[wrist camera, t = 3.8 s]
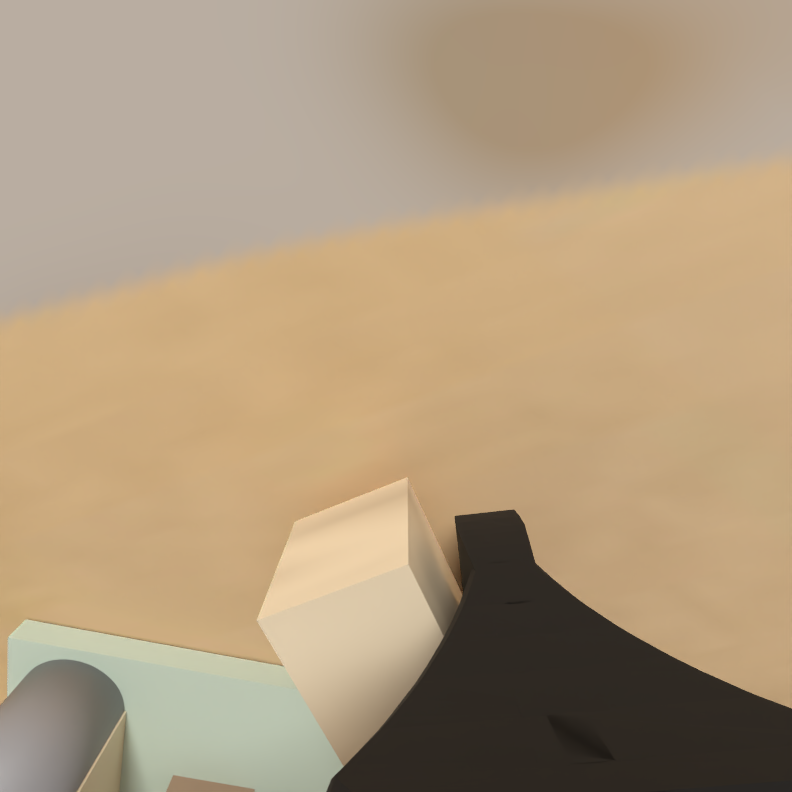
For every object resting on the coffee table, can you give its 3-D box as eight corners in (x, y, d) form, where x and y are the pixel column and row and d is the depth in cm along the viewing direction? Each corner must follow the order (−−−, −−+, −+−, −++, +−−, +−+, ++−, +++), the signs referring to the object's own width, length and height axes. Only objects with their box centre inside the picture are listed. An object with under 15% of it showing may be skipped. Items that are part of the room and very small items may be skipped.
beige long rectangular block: (561, 802, 13) (612, 988, 10) (461, 832, 14) (478, 1022, 10) (409, 476, 11) (411, 579, 8) (292, 521, 11) (246, 640, 8)
